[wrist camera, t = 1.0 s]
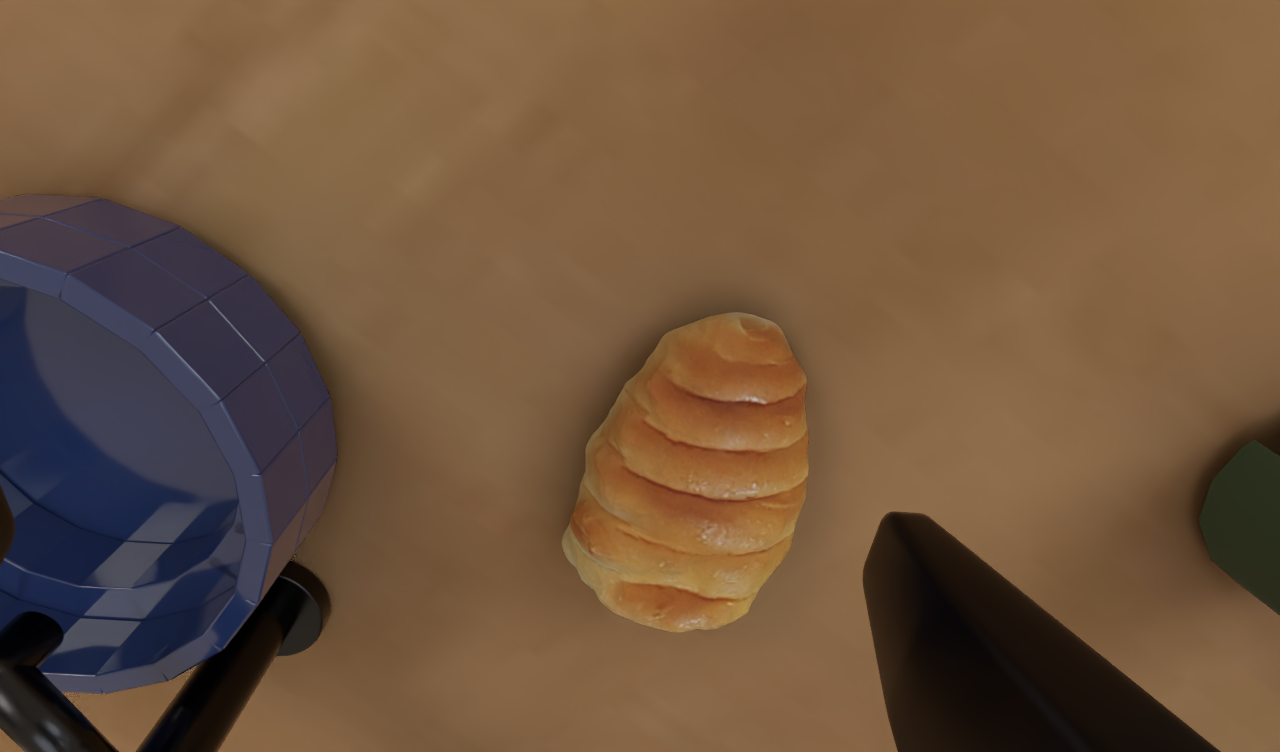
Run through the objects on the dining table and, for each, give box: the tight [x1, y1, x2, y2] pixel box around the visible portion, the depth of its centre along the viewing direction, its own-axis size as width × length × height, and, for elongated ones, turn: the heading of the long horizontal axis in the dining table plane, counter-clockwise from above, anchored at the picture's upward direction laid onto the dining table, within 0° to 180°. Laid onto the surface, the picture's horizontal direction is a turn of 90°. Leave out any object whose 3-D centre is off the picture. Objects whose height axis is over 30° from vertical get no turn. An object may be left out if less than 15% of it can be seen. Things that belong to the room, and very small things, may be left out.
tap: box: [0, 561, 330, 752], centre depth 22 cm, size 7×4×9 cm, turn 24°
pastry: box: [562, 312, 809, 633], centre depth 22 cm, size 9×7×4 cm
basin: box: [0, 194, 338, 694], centre depth 21 cm, size 13×13×5 cm
